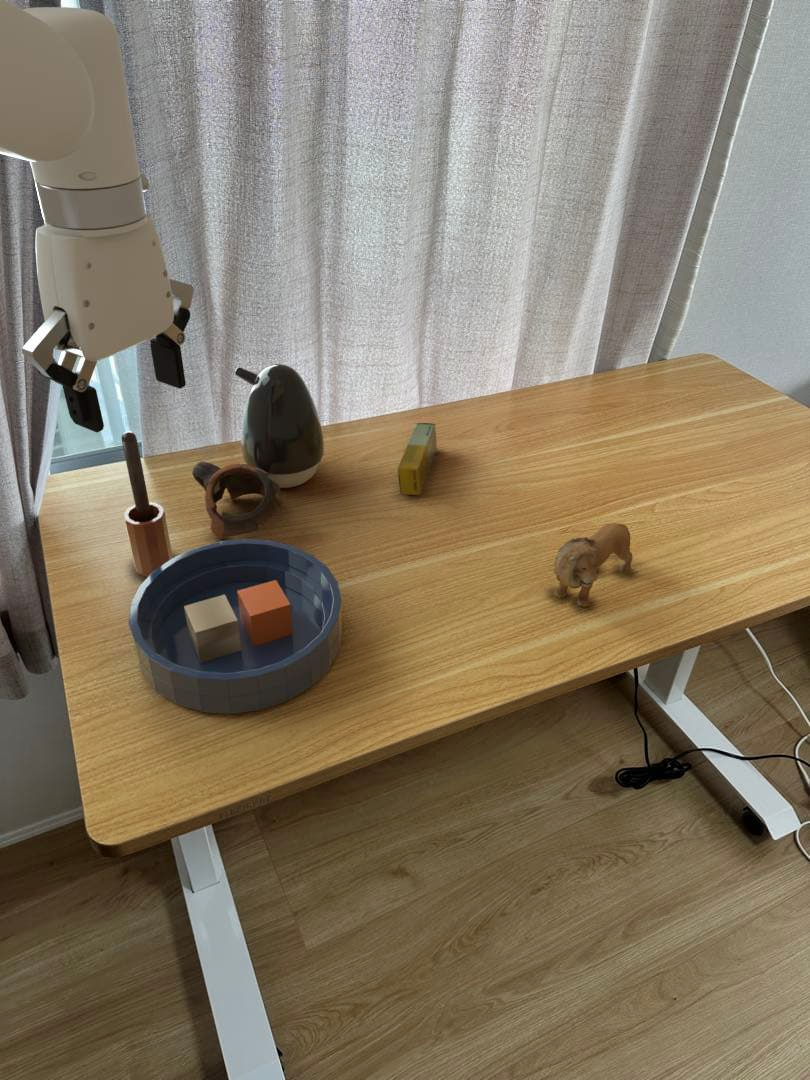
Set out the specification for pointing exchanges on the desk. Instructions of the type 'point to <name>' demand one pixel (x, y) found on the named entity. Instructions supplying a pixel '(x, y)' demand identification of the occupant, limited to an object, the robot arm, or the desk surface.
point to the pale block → (212, 628)
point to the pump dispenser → (281, 426)
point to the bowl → (255, 669)
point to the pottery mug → (237, 484)
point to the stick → (136, 476)
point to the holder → (148, 539)
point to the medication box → (417, 459)
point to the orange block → (265, 612)
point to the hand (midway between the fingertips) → (131, 404)
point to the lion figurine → (590, 559)
